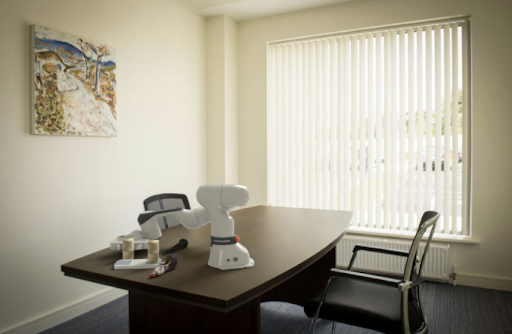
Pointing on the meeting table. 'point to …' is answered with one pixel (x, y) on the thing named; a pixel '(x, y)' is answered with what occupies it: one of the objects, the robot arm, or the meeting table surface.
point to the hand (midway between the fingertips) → (128, 248)
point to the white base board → (135, 264)
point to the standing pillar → (153, 251)
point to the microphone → (177, 246)
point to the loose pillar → (128, 248)
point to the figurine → (165, 265)
